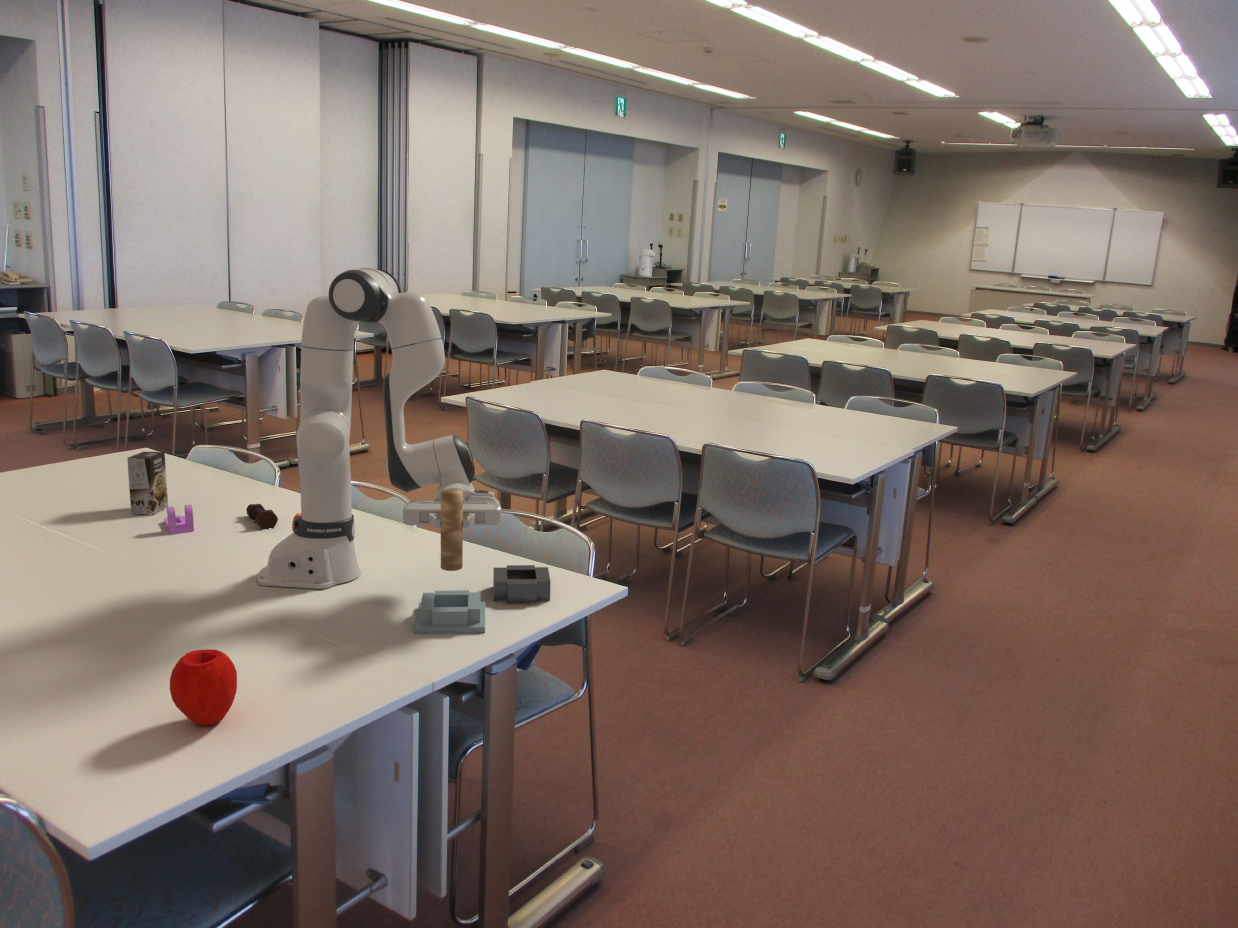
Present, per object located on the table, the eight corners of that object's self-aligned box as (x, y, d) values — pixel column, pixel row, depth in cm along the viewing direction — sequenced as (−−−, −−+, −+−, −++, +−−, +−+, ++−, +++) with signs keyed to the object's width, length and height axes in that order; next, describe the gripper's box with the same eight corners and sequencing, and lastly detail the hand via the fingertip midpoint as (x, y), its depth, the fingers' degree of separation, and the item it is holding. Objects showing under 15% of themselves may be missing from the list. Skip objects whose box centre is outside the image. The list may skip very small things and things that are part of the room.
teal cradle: (413, 633, 188) (413, 613, 187) (419, 607, 201) (418, 589, 200) (484, 632, 190) (485, 612, 189) (485, 606, 203) (485, 588, 202)
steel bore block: (493, 603, 205) (493, 584, 204) (493, 583, 217) (493, 565, 216) (550, 602, 207) (551, 583, 206) (547, 583, 219) (547, 565, 218)
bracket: (194, 532, 247) (192, 506, 245) (170, 534, 244) (169, 508, 242) (185, 519, 257) (183, 494, 256) (162, 522, 254) (161, 497, 253)
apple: (157, 728, 148) (152, 656, 145) (205, 702, 157) (201, 633, 154) (207, 742, 145) (202, 668, 142) (253, 714, 154) (249, 644, 151)
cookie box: (153, 515, 259) (149, 458, 256) (130, 514, 259) (125, 457, 256) (169, 506, 268) (165, 451, 265) (147, 505, 268) (142, 450, 265)
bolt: (255, 521, 264) (271, 533, 252) (238, 515, 261) (253, 527, 249) (265, 502, 265) (281, 514, 253) (248, 496, 262) (263, 507, 250)
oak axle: (440, 570, 191) (440, 494, 187) (441, 563, 195) (441, 488, 192) (462, 570, 191) (462, 494, 188) (462, 563, 196) (463, 489, 192)
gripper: (404, 491, 202) (398, 508, 188) (501, 491, 204) (502, 509, 191) (404, 519, 203) (399, 538, 190) (500, 519, 206) (501, 538, 192)
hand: (451, 523), depth 190 cm, fingers closed on oak axle, 4 cm apart
